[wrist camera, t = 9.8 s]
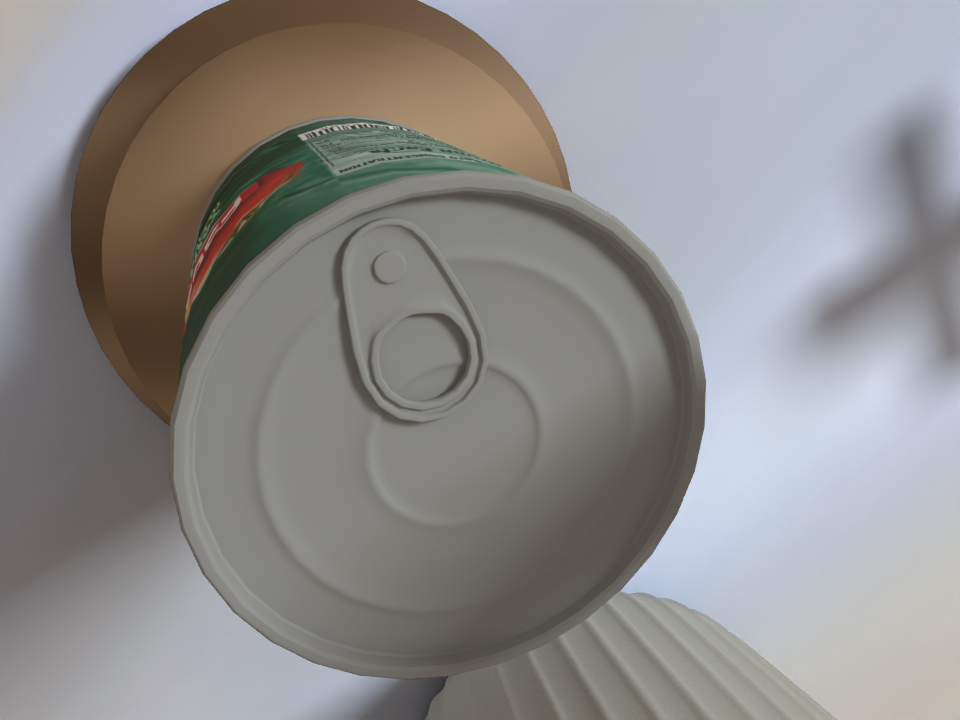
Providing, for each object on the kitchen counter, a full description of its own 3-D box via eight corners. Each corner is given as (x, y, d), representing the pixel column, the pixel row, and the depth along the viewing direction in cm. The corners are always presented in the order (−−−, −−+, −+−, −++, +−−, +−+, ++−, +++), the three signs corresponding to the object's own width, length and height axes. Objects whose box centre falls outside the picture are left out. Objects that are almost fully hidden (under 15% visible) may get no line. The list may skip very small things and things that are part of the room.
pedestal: (-14, 43, 21) (-47, 44, 18) (527, -62, 24) (566, -75, 21) (172, 523, 27) (166, 578, 24) (595, 395, 29) (634, 431, 26)
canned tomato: (533, 348, 25) (751, 554, 15) (268, 460, 23) (308, 765, 14) (444, 65, 21) (644, 84, 11) (131, 180, 20) (52, 311, 10)
